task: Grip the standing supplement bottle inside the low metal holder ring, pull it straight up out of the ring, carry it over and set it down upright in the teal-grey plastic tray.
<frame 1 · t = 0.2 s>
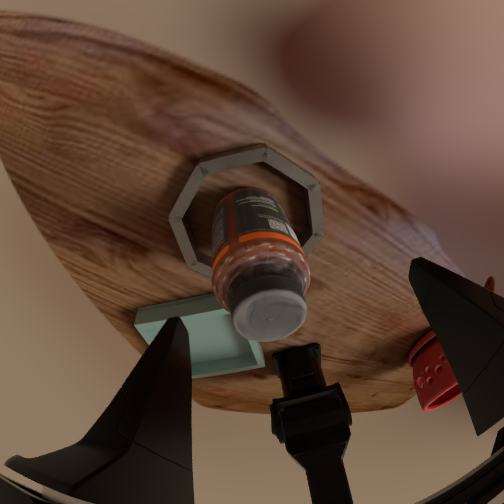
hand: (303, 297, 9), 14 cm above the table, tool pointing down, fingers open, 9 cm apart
supplement bottle: (247, 216, 23), resting in holder ring
holder ring: (248, 218, 23), on the table
tray: (204, 332, 31), on the table
plant pot: (428, 341, 40), on the table
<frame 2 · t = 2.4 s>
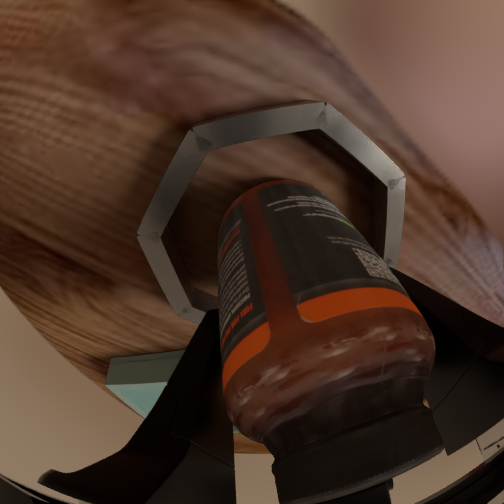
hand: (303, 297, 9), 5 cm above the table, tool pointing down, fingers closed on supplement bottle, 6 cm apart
supplement bottle: (278, 231, 13), resting in holder ring, touching gripper
holder ring: (279, 233, 13), on the table
tray: (205, 388, 21), on the table
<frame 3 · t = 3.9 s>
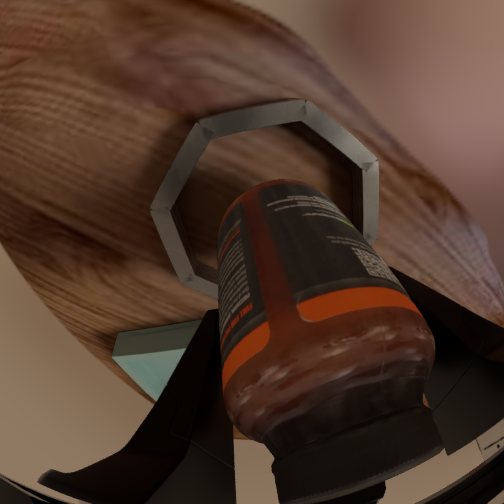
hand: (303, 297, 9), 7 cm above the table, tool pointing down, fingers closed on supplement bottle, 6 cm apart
supplement bottle: (278, 231, 13), point 2 cm above the table, touching gripper
holder ring: (270, 211, 15), on the table
tray: (205, 363, 23), on the table
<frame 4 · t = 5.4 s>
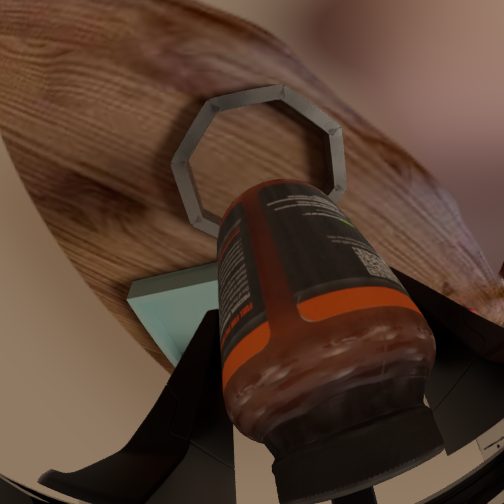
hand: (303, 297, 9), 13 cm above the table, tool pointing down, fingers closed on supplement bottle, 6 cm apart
supplement bottle: (278, 231, 13), point 8 cm above the table, touching gripper
holder ring: (261, 168, 20), on the table
tray: (208, 312, 27), on the table
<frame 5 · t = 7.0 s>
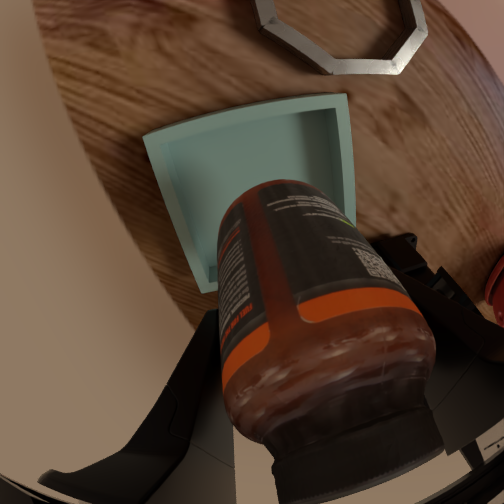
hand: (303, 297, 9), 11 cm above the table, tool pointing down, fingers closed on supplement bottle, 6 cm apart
supplement bottle: (278, 231, 13), point 6 cm above the table, touching gripper
tray: (260, 188, 18), on the table
plant pot: (501, 270, 28), on the table
when the fingers open (7 cm above the table, at t = 8.5 s): supplement bottle drops 1 cm, resting on tray.
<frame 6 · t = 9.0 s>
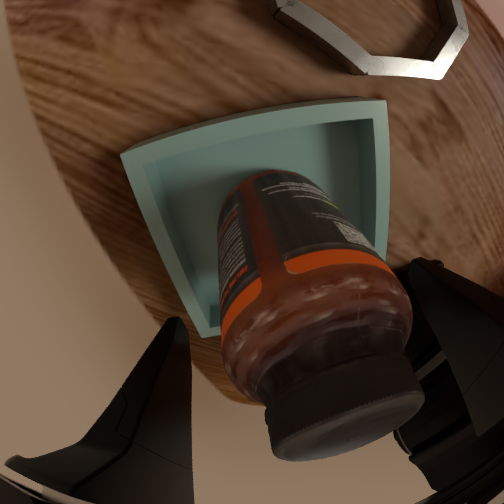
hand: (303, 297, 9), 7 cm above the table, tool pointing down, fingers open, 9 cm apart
supplement bottle: (273, 218, 15), resting on tray
tray: (272, 215, 15), on the table
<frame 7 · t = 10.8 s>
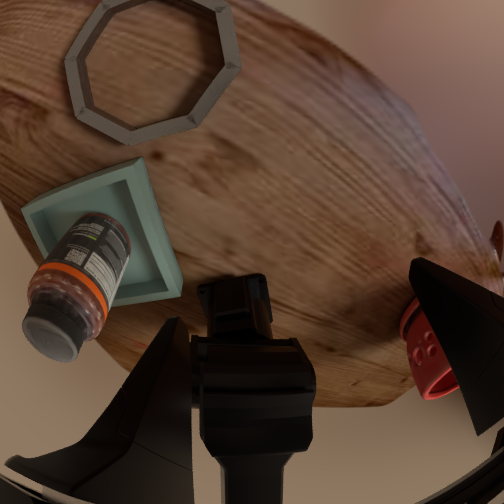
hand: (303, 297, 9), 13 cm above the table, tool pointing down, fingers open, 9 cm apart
supplement bottle: (102, 240, 21), resting on tray
holder ring: (150, 58, 14), on the table
tray: (104, 237, 22), on the table
plant pot: (426, 306, 32), on the table
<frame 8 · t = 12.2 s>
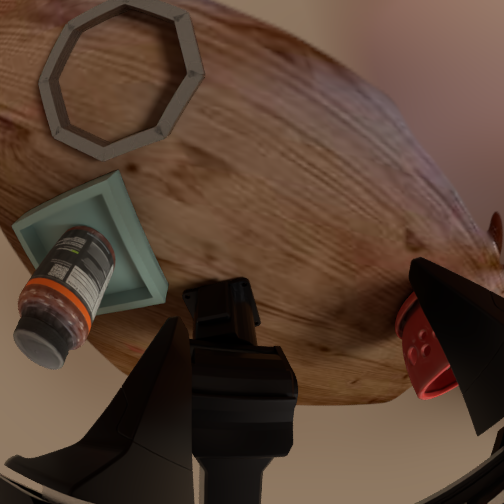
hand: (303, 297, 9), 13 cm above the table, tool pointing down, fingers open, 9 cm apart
supplement bottle: (89, 250, 22), resting on tray
holder ring: (117, 73, 14), on the table
tray: (91, 248, 22), on the table
plant pot: (422, 303, 32), on the table
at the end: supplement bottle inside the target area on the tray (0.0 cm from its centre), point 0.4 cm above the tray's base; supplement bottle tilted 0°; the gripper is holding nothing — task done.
